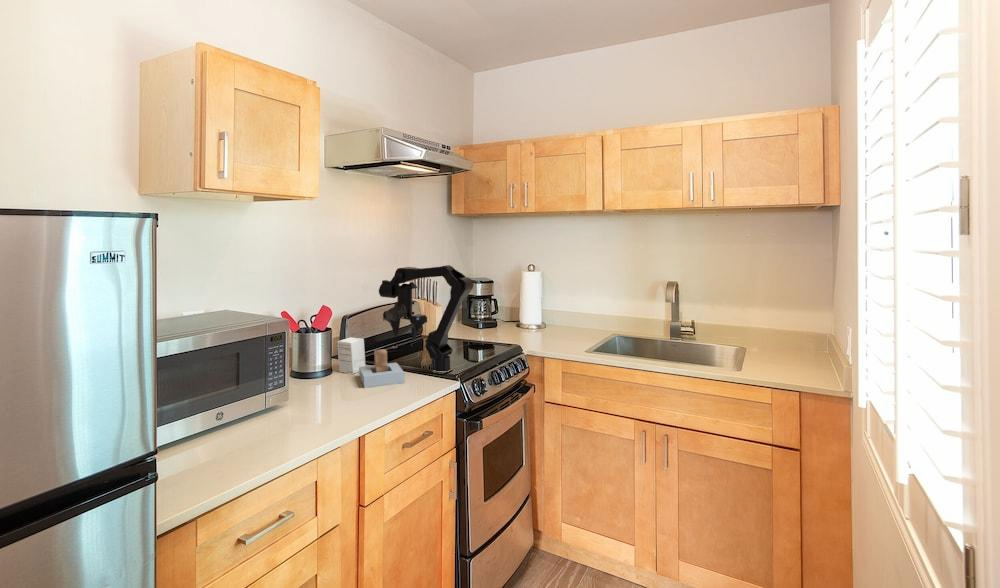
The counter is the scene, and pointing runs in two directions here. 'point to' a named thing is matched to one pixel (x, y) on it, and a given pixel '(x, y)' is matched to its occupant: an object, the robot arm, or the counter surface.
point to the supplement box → (351, 355)
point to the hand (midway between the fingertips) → (404, 338)
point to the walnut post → (380, 360)
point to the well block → (381, 376)
